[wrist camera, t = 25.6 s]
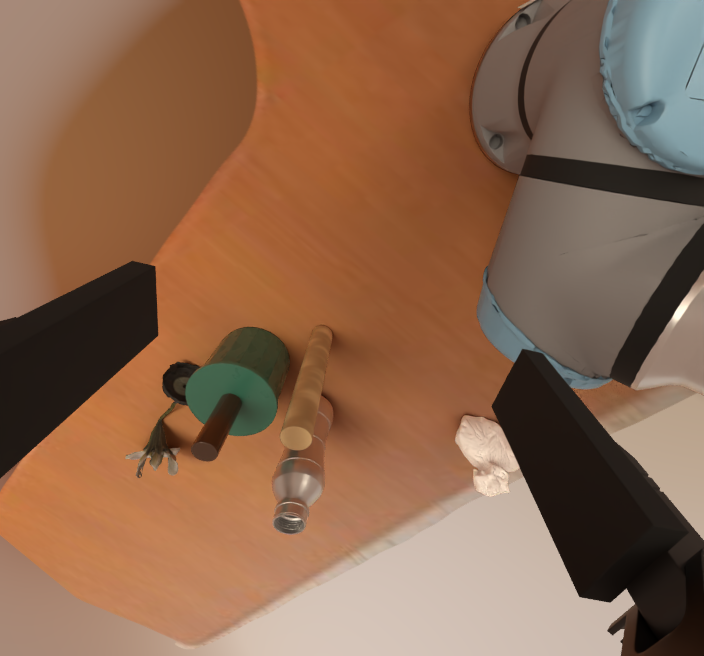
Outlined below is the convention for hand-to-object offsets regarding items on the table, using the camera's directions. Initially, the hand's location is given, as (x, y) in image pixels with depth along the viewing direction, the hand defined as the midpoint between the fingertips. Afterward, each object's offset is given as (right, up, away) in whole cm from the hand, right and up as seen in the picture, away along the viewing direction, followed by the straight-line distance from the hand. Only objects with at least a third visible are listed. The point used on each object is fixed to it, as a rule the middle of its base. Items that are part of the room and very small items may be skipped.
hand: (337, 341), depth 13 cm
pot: (-14, -4, +40) cm, 42 cm away
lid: (-14, -8, +31) cm, 36 cm away
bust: (+21, -16, +45) cm, 52 cm away
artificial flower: (-28, -14, +46) cm, 56 cm away
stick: (-4, 0, +37) cm, 38 cm away
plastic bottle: (-5, -12, +44) cm, 45 cm away
